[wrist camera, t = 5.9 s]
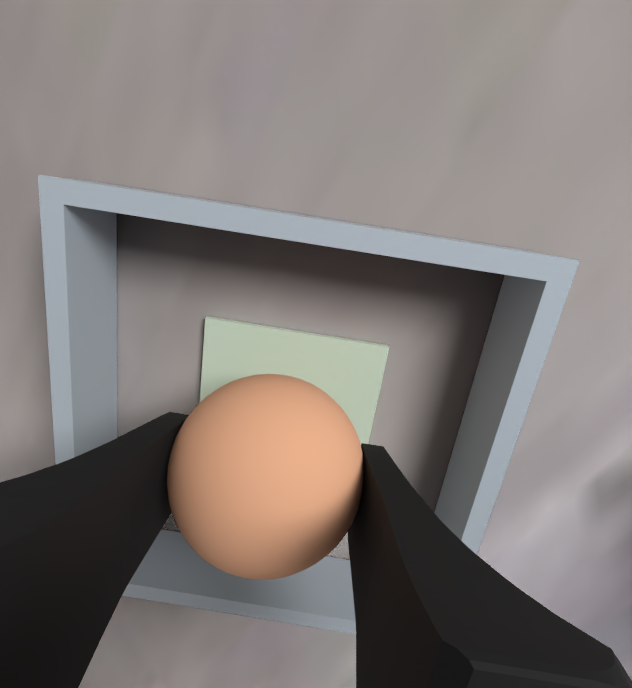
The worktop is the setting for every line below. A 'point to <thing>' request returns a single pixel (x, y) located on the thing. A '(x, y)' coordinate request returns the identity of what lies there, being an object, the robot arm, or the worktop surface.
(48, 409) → the worktop surface
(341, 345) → the grey shallow square tray
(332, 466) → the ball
